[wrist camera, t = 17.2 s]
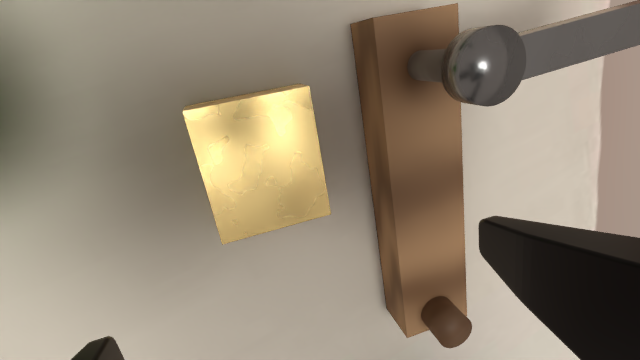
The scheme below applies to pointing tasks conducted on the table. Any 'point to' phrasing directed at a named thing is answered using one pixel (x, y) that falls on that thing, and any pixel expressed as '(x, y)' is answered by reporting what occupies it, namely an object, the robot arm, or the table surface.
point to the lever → (531, 52)
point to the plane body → (415, 168)
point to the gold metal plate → (259, 160)
